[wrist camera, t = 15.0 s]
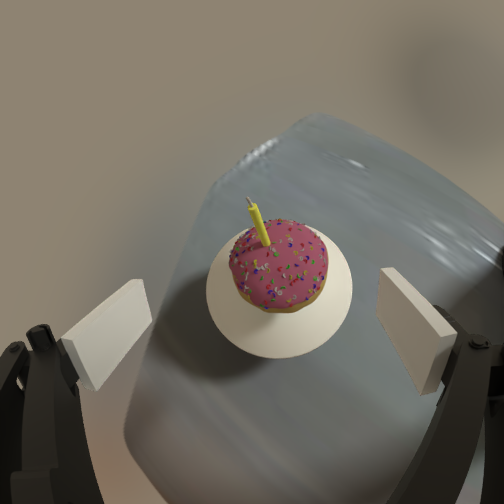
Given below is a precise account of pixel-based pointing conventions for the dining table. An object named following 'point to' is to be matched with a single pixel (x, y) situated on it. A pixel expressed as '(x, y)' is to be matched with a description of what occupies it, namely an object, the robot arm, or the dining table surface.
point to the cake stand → (279, 324)
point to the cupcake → (278, 264)
